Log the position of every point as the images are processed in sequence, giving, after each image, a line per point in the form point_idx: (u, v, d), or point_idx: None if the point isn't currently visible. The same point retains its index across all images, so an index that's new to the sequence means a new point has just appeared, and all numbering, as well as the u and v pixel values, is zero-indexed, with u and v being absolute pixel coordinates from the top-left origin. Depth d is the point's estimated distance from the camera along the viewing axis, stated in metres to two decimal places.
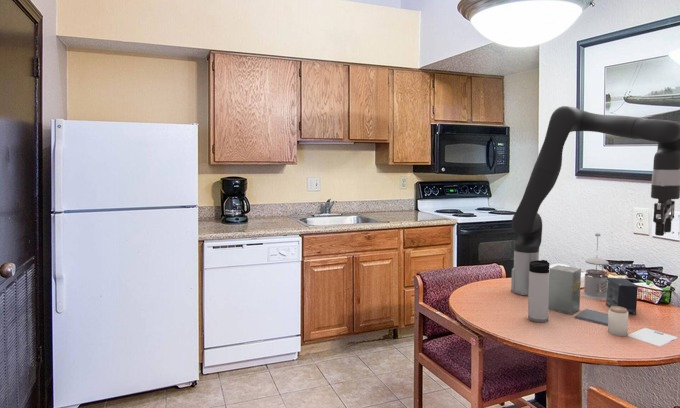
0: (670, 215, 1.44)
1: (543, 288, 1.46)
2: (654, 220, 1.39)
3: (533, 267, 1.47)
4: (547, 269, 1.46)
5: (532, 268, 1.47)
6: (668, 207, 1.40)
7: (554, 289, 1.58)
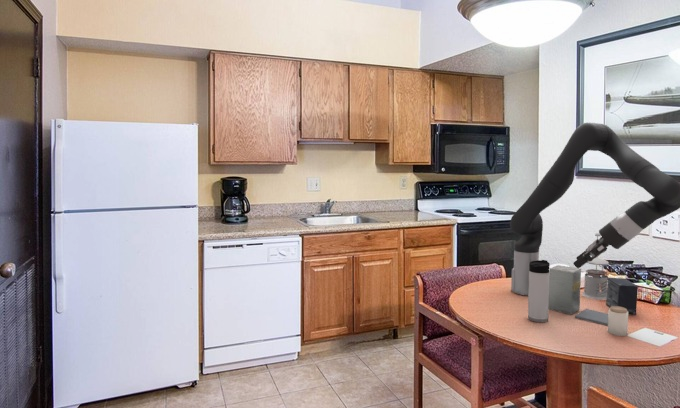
0: None
1: (543, 288, 1.46)
2: (585, 255, 1.34)
3: (533, 267, 1.47)
4: (547, 269, 1.46)
5: (532, 268, 1.47)
6: (603, 250, 1.36)
7: (554, 289, 1.58)
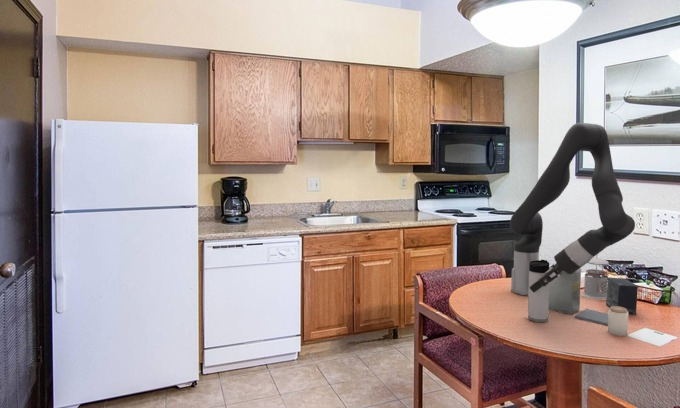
0: None
1: (543, 288, 1.46)
2: (539, 281, 1.43)
3: (533, 267, 1.47)
4: (547, 269, 1.46)
5: (532, 268, 1.47)
6: (557, 275, 1.44)
7: (554, 289, 1.58)
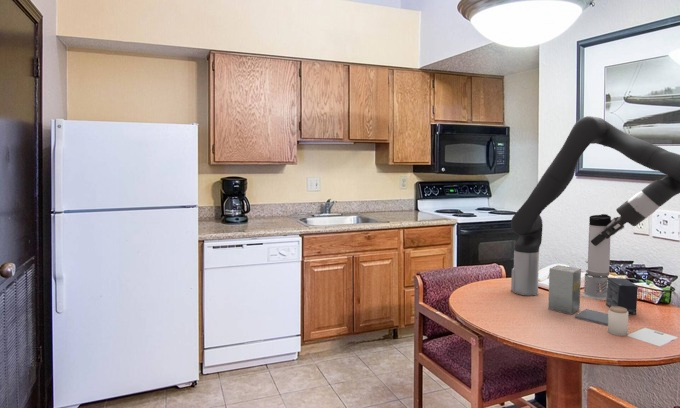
0: None
1: (605, 241, 1.45)
2: (602, 233, 1.42)
3: (594, 220, 1.46)
4: (609, 222, 1.45)
5: (593, 221, 1.46)
6: None
7: (554, 289, 1.58)
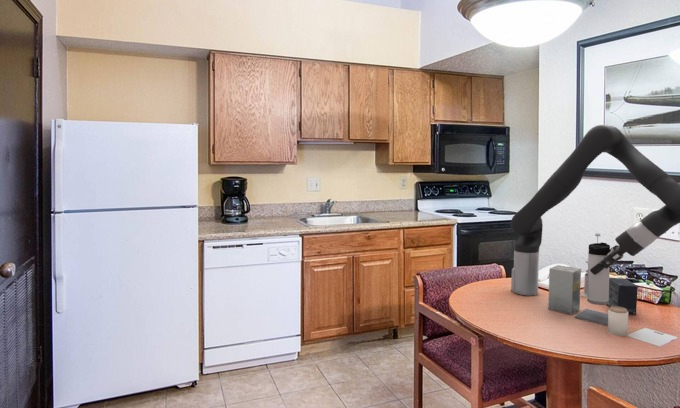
0: None
1: (604, 270, 1.46)
2: (601, 263, 1.43)
3: (593, 249, 1.47)
4: (608, 251, 1.46)
5: (592, 250, 1.47)
6: None
7: (554, 289, 1.58)
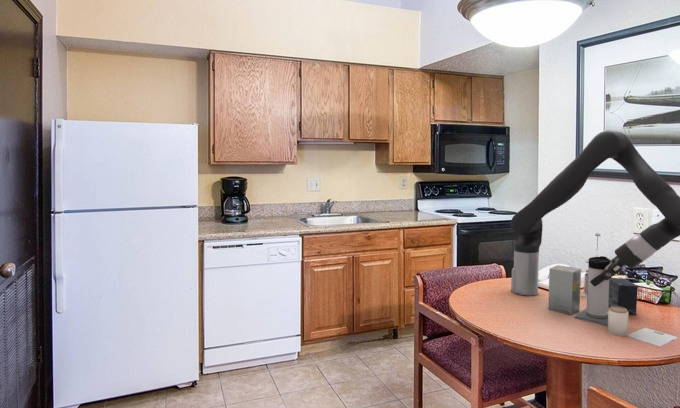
0: None
1: (604, 284, 1.46)
2: (602, 274, 1.42)
3: (593, 263, 1.47)
4: None
5: (592, 264, 1.47)
6: None
7: (554, 289, 1.58)
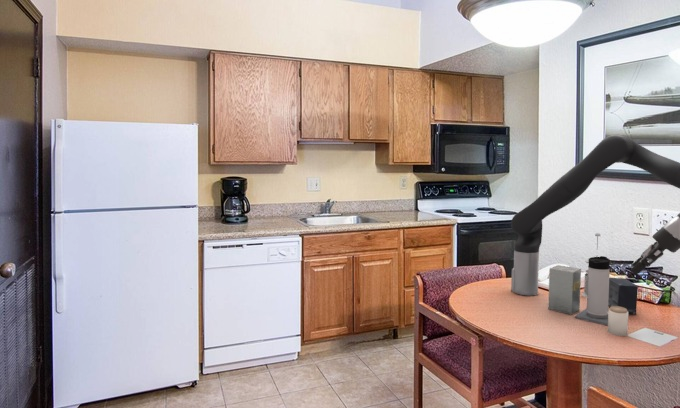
0: None
1: (604, 284, 1.46)
2: (642, 261, 1.36)
3: (593, 263, 1.47)
4: (608, 265, 1.46)
5: (592, 264, 1.47)
6: None
7: (554, 289, 1.58)
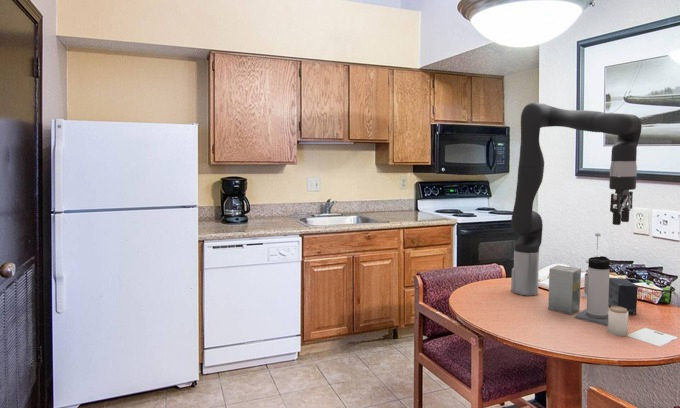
0: (628, 205, 1.49)
1: (604, 284, 1.46)
2: (611, 210, 1.44)
3: (593, 263, 1.47)
4: (608, 265, 1.46)
5: (592, 264, 1.47)
6: (625, 197, 1.46)
7: (554, 289, 1.58)
